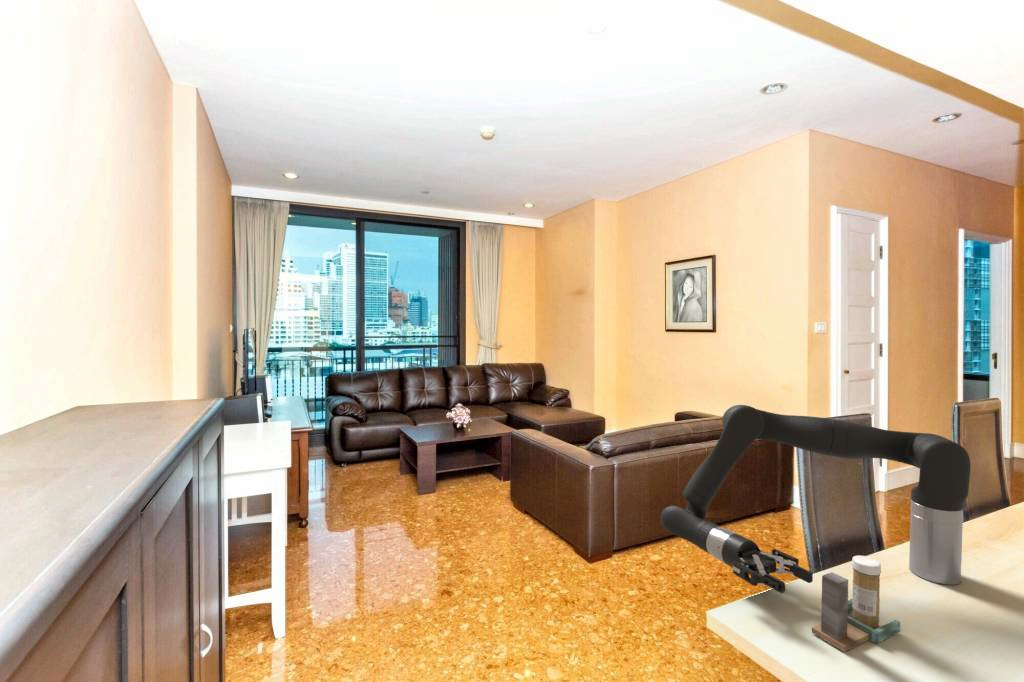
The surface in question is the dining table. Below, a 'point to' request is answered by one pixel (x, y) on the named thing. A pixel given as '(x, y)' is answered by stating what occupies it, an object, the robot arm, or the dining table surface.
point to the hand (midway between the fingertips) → (798, 583)
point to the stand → (845, 618)
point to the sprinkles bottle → (866, 590)
